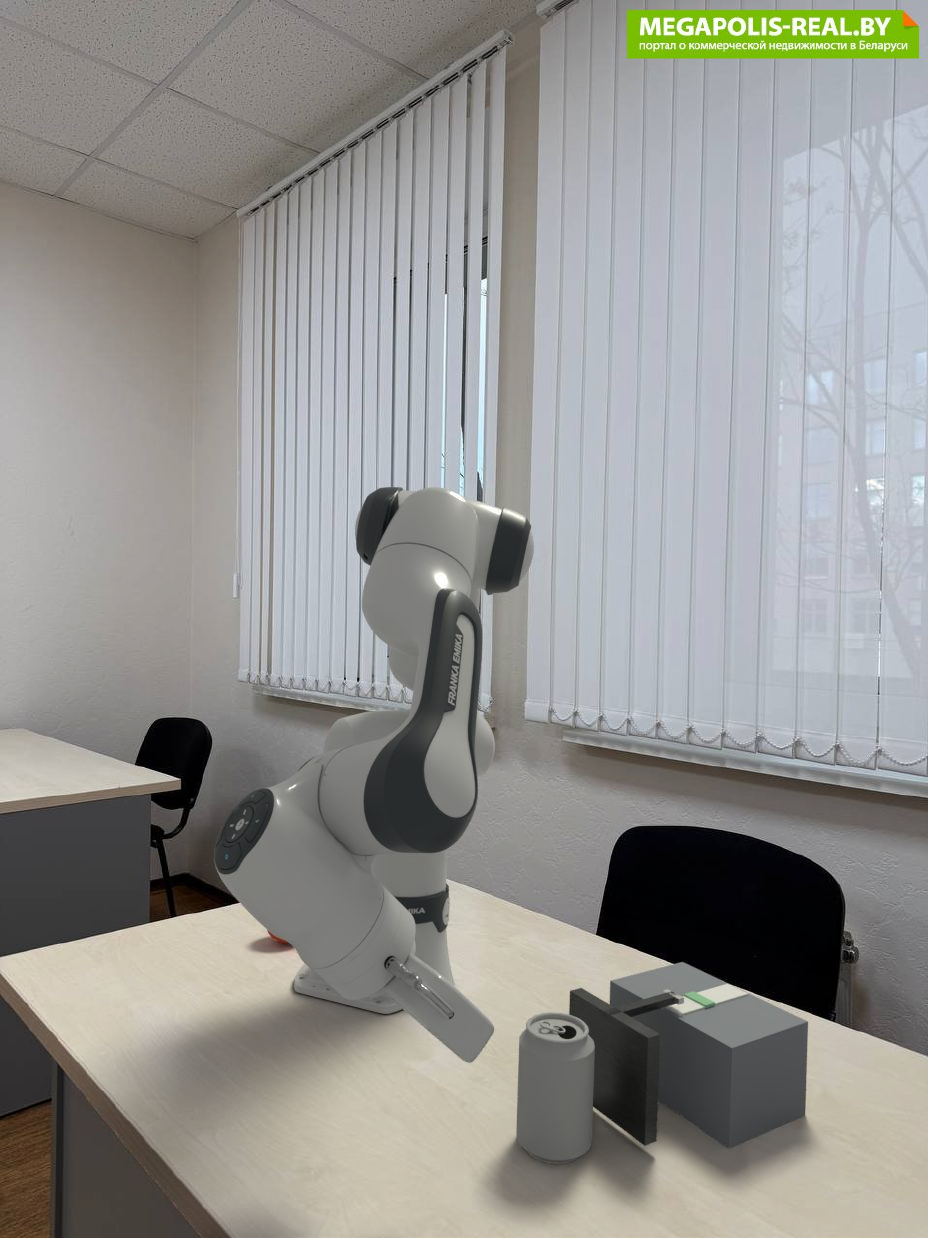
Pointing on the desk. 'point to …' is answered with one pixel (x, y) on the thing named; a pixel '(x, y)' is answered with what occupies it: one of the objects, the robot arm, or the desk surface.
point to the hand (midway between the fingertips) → (457, 1030)
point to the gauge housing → (722, 1053)
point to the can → (555, 1088)
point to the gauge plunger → (624, 1060)
